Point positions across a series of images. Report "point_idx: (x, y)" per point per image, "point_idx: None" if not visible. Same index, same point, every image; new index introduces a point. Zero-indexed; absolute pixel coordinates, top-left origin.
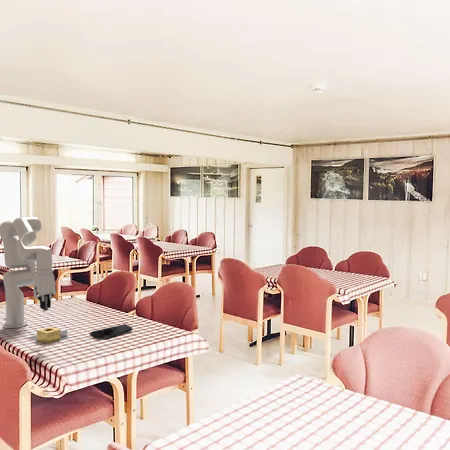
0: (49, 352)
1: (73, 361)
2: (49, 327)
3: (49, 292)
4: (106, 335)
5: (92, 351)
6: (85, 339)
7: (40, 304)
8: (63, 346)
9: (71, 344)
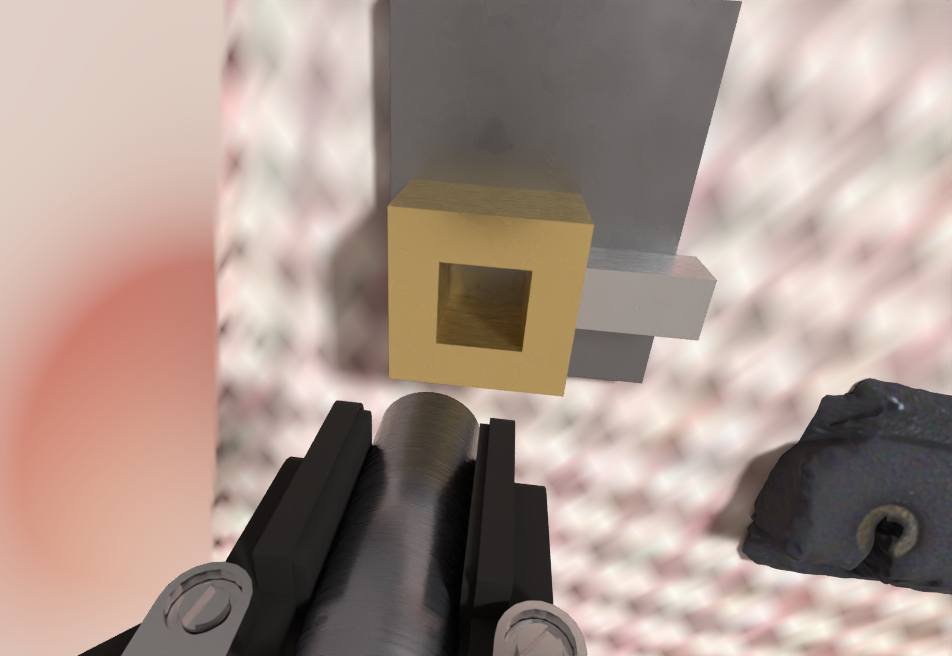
0: None
1: None
2: (566, 232)
3: None
4: (790, 560)
5: None
6: (698, 445)
7: (264, 517)
8: None
9: (543, 439)
